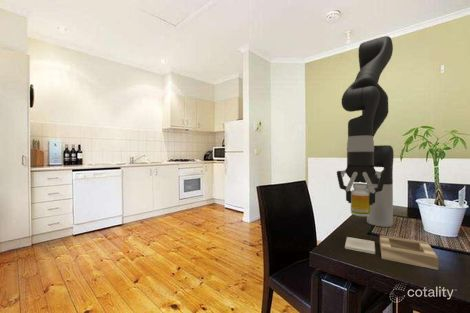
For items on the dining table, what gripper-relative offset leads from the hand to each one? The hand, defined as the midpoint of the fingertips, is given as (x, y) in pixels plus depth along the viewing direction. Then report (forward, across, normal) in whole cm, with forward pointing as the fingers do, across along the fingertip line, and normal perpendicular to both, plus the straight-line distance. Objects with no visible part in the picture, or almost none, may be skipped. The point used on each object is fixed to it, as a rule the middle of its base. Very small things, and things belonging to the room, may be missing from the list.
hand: (360, 203), depth 71 cm
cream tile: (+14, 0, 0) cm, 14 cm away
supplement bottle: (+4, 0, 0) cm, 4 cm away
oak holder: (+14, -12, +1) cm, 18 cm away
